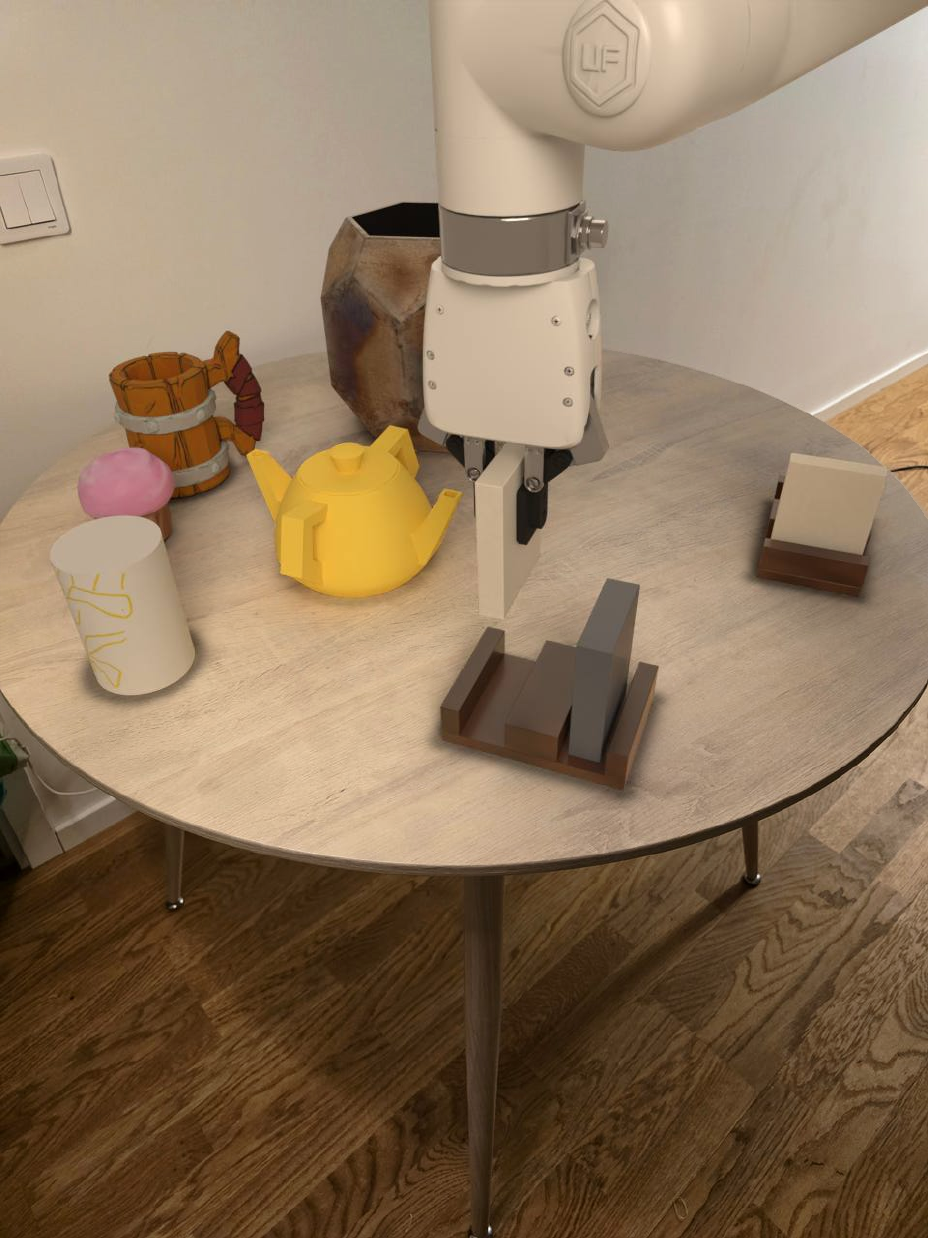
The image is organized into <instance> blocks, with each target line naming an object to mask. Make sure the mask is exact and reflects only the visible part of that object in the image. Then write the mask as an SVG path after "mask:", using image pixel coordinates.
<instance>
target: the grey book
mask: <svg viewBox="0 0 928 1238" xmlns="http://www.w3.org/2000/svg"><path fill="white" fill-rule="evenodd" d="M640 588H641V585H640V584H638V583H633V582H629V581H624V580H619V579H614V578H610V577H607V578H606V580H605V581H604V584H603V586H602V588H601V591H600V593H599V595H598V597H597V600H596V602H595V603H594V606H593V608H592V610H591V613H590V615H589V616H588V619H587V620H586V624H585V626H584V627H583V630H582V632H581V635H580V637H579V639H578V640H577V643H576V645H575V647H576V659H575V671H574V684H573V697H572V710H571V723H570V736H569V749H568V754H569V755H572V756H576V757H579V758H583V759H587V760H590V761H594V762H598V763H600V762H601V759H602V757H603V754H604V751H605V748H606V746H607V743H608V740H609V737H610V735H611V732H612V729H613V726H614V724H615V721H616V718H617V715H618V713H619V710H620V707H621V704H622V702H623V699H624V696H625V693H626V689H627V683H628V681H629V673H630V666H631V665H630V664H631V657H632V650H633V643H634V636H635V635H634V634H635V628H636V627H635V626H636V618H637V613H638V604H639V596H640V590H641V589H640Z"/></svg>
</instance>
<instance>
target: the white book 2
mask: <svg viewBox="0 0 928 1238" xmlns="http://www.w3.org/2000/svg"><path fill="white" fill-rule="evenodd" d="M888 469H889V467H888V466H883V465H877V464H869V463H862V462H857V461H849V460H843V459H837V458H831V457H824V456H823V457H822V456H817V455H809V454H803V453H797V452H790V455H789V460H788V463H787V468H786V473H785V475H784V476H785V480H784V484H783V489H782V493H781V497H780V501H779V506H778V510H777V514H776V518H775V522H774V527H773V531H772V535H771V539H775V540H780V541H786V542H791V543H797V544H802V545H808V546H814V547H819V548H825V549H830V550H836V551H841V552H847V553H853V554H858V555H863V552H864V549H865V545H866V542H867V539H868V536H869V533H870V530H871V531H872V526H873V523H874V520H875V517H876V514H877V511H878V507H879V505H880V503H881V499H882V495H883V492H884V489H885V486H886V483H887V480H888V472H889V471H888Z"/></svg>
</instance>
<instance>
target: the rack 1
mask: <svg viewBox="0 0 928 1238" xmlns="http://www.w3.org/2000/svg"><path fill="white" fill-rule="evenodd" d="M505 641H506V631H505V630H504V629H502V628H501V629H500V628H495V627H491V626H487V627H486V629H485V630H484V632H483V634H482V635H481V637H480V639H479V641H478V642H477V643H476V646H475V647H474V649H473V650H472V652H471V654H470V656H469V657H468V659H467V660H466V662H465V663H464V666H463V668H462V669H461V671H460V672H459V674H458V676H457V677H456V679H455V681H454V683H453V684H452V686H451V688H450V689H449V691H448V693H447V694H446V696H445V698H444V699H443V701H442V702H441V705H440V706H439V707H440V708H439V711H440V731H441V733H440V734H441V740H442V741H445V742H449V743H452V744H455V745H458V746H462V747H466V748H470V749H473V750H477V751H481V752H484V753H486V754H491V755H494V756H499V757H503V758H506V759H509V760H513V761H515V762H516V761H517V762H521V763H524V764H527V765H530V766H534V767H538V768H542V769H544V770H549V771H552V772H555V773H560V774H563V775H567V776H571V777H574V778H578V779H581V780H585V781H587V782H591V783H595V784H598V785H599V784H600V785H602V786H607V787H610V788H613V789H617V790H620V791H625V788H626V785H627V782H628V779H629V776H630V773H631V769H632V767H633V764H634V760H635V757H636V754H637V751H638V748H639V745H640V741H641V739H642V736H643V732H644V729H645V726H646V723H647V721H648V717H649V715H650V711H651V708H652V705H653V702H654V699H655V693H656V685H657V679H658V673H659V665H656V664H652V663H647V662H643V661H639V662H638V665H637V667H636V670H635V673H634V675H633V677H632V678H633V679H632V681H631V683H629V682H627V689H626V693H625V696H624V699H623V702H622V704H621V707H620V710H619V713H618V715H617V718H616V721H615V724H614V726H613V729H612V732H611V735H610V737H609V740H608V743H607V746H606V748H605V751H604V754H603V757H602V759H601V762H600V763H598V762H594V761H590V760H587V759H583V758H579V757H576V756H572V755H569V754H568V749H569V736H570V723H571V710H572V697H573V684H574V671H575V659H576V646H573V645H571V644H570V645H569V644H565V643H561V642H556V641H551V640H545V642H544V644H543V646H542V648H541V650H540V652H539V654H538V656H537V658H536V660H532V659H529V658H528V659H527V658H524V657H520V656H516V655H512V654H508V653H505V652H506V651H505V649H506V647H505V645H506V644H505Z"/></svg>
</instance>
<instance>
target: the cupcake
mask: <svg viewBox="0 0 928 1238" xmlns="http://www.w3.org/2000/svg"><path fill="white" fill-rule="evenodd" d="M174 488H175V480H174V476H173V474H172V472H171V470H170V468H169V466H168V465H167V464H166V463H165V462H163V461H162V460H160V459H159V458H158V457H156V456H154V455H153V454H151V453H150V452H148V451H147V450H145V449H142V448H133V447H131V448H129V447H121V448H118V449H114V450H112V451H109V452H106V453H104V454H100V455H98V456H96V457H95V458H93V459H92V460H91V461H90V463H89V464H88V465H87V466H85V467H84V468H83V469H82V470H81V472H80V474H79V477H78V482H77V495H78V499H79V503H80V506H81V508H82V510H83V512H84V513H85V514H86V515H87V516H89V517H90V518H93V520H95V519H99V518H104V517H110V516H121V515H128V516H138V517H143V518H146V519H149V520H151V521H153V522H154V523H155V524H157V525H158V527H159V528H160V530H161V533H162V537H163V540H164V541H165V540H166V539H167V538H168V537H169V536H170V535H171V533H172V531H173V519H172V516H171V510H170V507H169V501H170V500H171V499H172V498H171V496H172V494H173V491H174Z"/></svg>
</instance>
